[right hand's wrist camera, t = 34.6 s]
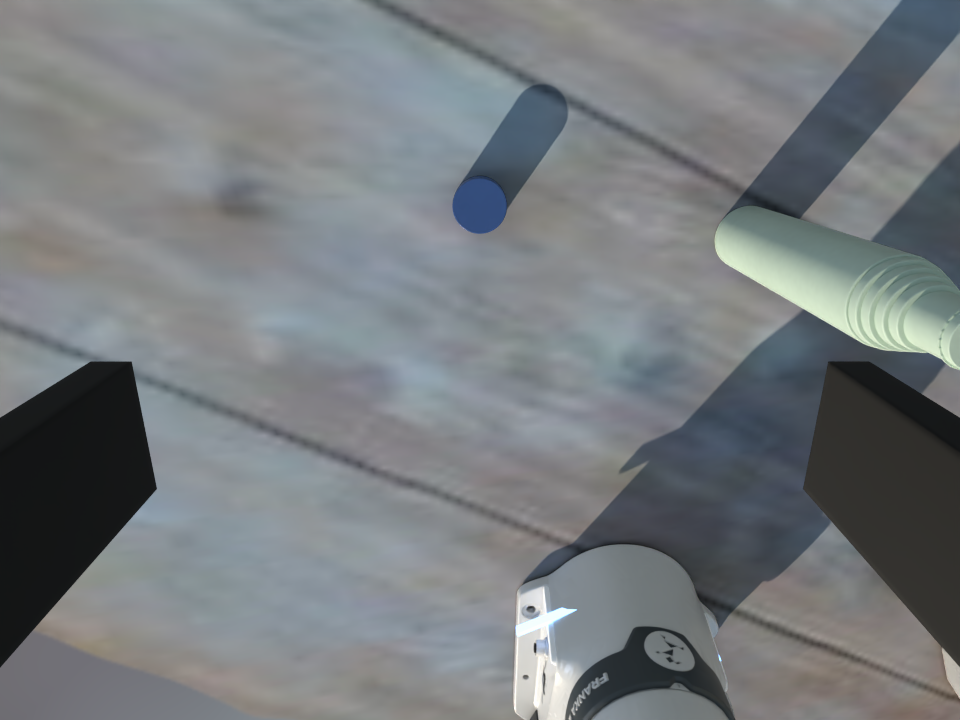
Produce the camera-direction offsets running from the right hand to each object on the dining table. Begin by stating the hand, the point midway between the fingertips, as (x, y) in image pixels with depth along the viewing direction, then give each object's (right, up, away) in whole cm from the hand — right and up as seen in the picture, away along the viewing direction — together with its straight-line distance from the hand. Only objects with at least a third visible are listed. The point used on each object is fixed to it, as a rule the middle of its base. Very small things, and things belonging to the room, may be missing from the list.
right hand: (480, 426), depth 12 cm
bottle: (+20, +10, +36) cm, 42 cm away
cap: (0, +12, +33) cm, 35 cm away
